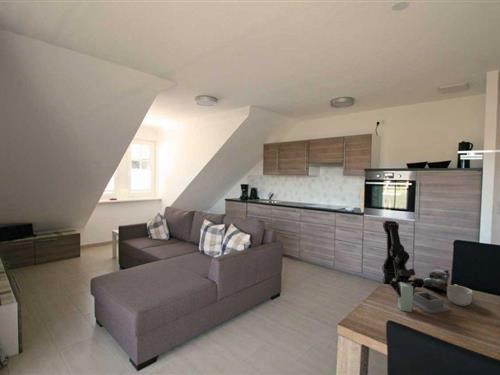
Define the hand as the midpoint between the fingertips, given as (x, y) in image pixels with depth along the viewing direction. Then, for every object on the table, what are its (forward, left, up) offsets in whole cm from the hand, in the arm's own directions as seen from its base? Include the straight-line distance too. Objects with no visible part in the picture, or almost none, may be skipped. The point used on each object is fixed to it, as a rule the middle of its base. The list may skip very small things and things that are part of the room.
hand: (406, 297), depth 135 cm
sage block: (-1, +1, -7) cm, 7 cm away
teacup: (0, +36, -7) cm, 36 cm away
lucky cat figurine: (-17, +39, -7) cm, 43 cm away
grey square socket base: (-1, +16, -7) cm, 17 cm away
